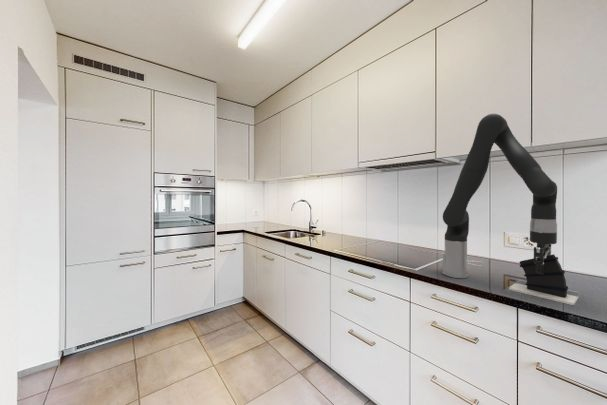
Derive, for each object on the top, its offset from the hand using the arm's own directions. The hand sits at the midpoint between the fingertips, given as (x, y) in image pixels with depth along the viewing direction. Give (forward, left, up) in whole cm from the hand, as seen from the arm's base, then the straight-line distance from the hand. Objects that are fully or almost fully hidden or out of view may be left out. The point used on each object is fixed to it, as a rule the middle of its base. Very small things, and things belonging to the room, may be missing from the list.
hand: (542, 271), depth 96 cm
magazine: (0, 0, -8) cm, 8 cm away
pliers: (-36, +27, -9) cm, 46 cm away
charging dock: (0, 0, -9) cm, 9 cm away
